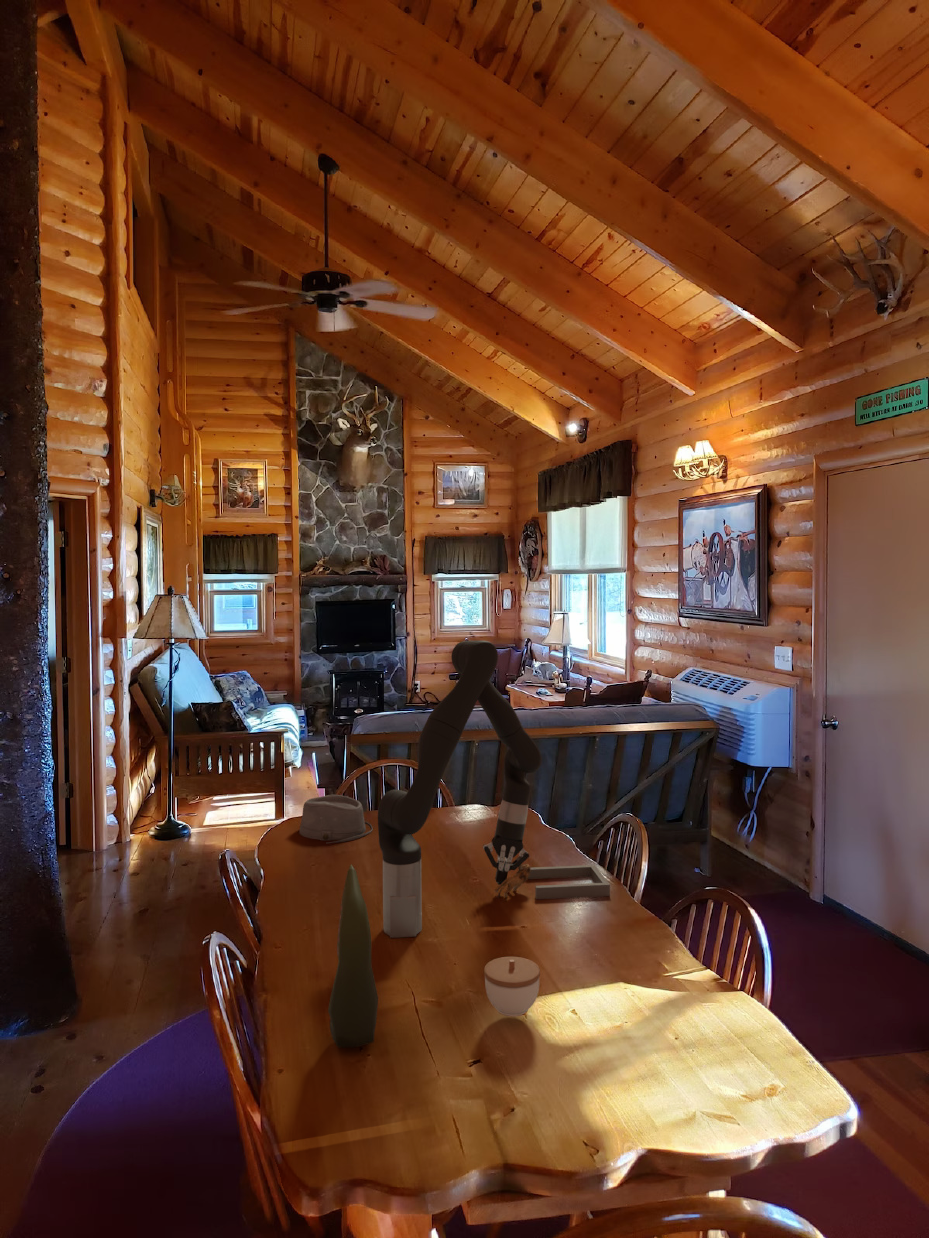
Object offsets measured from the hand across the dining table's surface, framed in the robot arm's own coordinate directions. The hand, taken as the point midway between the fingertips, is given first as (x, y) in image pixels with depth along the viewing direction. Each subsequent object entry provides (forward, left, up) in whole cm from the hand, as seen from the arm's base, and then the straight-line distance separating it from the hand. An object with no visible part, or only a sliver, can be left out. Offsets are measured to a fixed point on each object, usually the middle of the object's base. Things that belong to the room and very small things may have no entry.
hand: (499, 884), depth 213 cm
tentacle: (-65, +36, -3) cm, 74 cm away
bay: (+2, -18, -2) cm, 18 cm away
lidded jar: (-58, +6, -3) cm, 58 cm away
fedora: (+56, +48, -3) cm, 73 cm away
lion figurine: (0, -2, -2) cm, 2 cm away
